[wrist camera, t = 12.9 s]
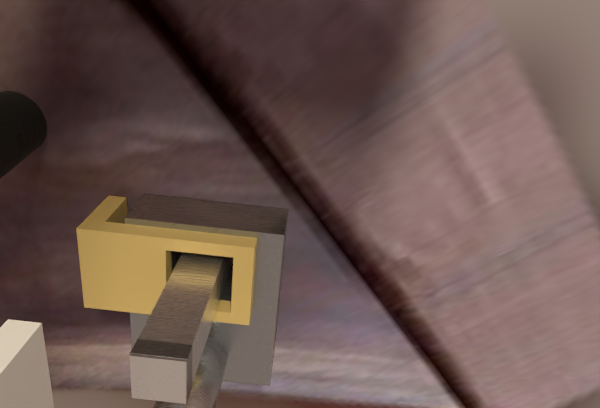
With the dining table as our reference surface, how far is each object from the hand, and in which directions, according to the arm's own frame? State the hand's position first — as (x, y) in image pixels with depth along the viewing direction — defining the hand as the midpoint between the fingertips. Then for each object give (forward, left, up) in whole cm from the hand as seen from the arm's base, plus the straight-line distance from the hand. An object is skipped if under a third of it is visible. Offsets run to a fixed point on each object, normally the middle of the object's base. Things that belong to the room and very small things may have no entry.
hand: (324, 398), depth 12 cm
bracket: (+13, -10, -29) cm, 33 cm away
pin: (+13, -8, -29) cm, 33 cm away
